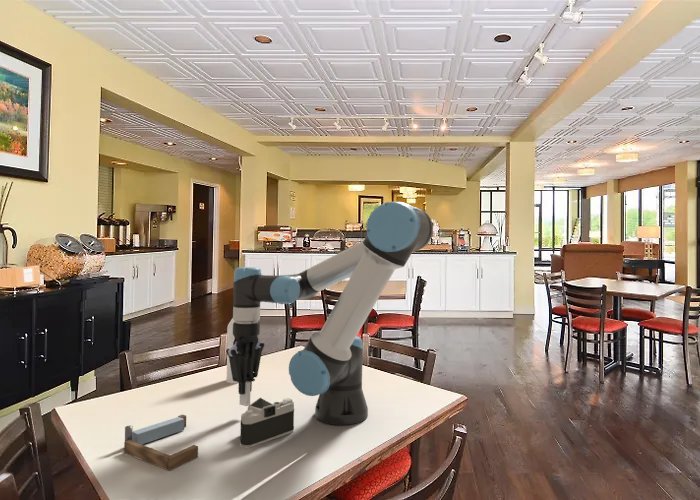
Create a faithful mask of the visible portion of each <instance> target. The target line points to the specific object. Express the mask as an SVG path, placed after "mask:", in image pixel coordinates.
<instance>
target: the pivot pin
mask: <svg viewBox="0 0 700 500" xmlns="http://www.w3.org/2000/svg"><path fill="white" fill-rule="evenodd" d="M132 431H133V425H126V426H124V442H125V441H128V440H131V441H132Z"/></svg>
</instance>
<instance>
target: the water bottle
mask: <svg viewBox="0 0 700 500" xmlns="http://www.w3.org/2000/svg"><path fill="white" fill-rule="evenodd" d="M234 322H235V321H234V320H233V317H232V318H231V320H230V321H229V323H228V324H227V329H226V332H227V335H226V337H227V338H226V340H227V341H226V342H227V343H226V350H227V349H231V347H232V346H233V342H234V339H235V338H234V335H233V323H234ZM226 359H227V360H226V383H228V384H239V383H238V382H236V381H233V379H232V373H231V367H230V361H229V356H228V355H227V354H226Z"/></svg>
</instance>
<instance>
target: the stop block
mask: <svg viewBox="0 0 700 500" xmlns="http://www.w3.org/2000/svg"><path fill="white" fill-rule="evenodd" d="M177 417H180V418H183V419H184V429H185V428H186V427H187V415H185V414H180V415H178V416H177Z"/></svg>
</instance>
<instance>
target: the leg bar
mask: <svg viewBox="0 0 700 500" xmlns="http://www.w3.org/2000/svg"><path fill="white" fill-rule="evenodd" d="M181 431H185V428H184V419H183V418H180V417H178V416H177V417H173V418H170V419H168V420H165V421H162V422H161V421H160V422H157V423H155V424H152V425H148V426H145V427H142V428H140V429H139V428H138V429H136V430H132V441H133V442H136V443H139V444H141V445H144V444H148V443H150V442H153V441H156V440H159V439H161V438H164V437H168V436H170V435H174V434H176V433H180V432H181Z"/></svg>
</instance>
